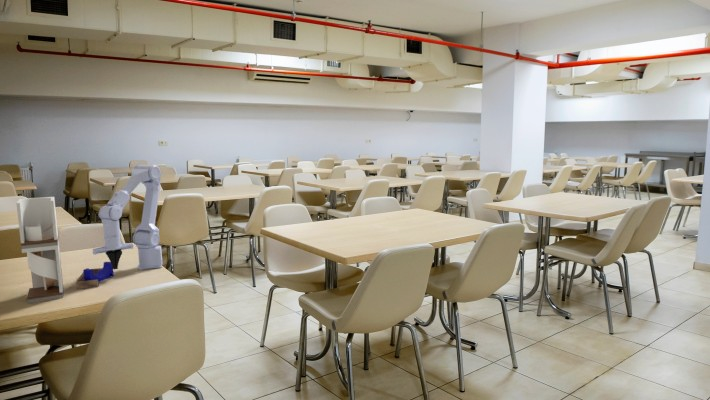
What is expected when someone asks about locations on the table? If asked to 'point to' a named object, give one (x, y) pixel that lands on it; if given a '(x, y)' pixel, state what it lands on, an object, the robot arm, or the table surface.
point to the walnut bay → (89, 283)
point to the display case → (41, 247)
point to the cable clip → (99, 273)
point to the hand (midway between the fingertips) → (115, 268)
